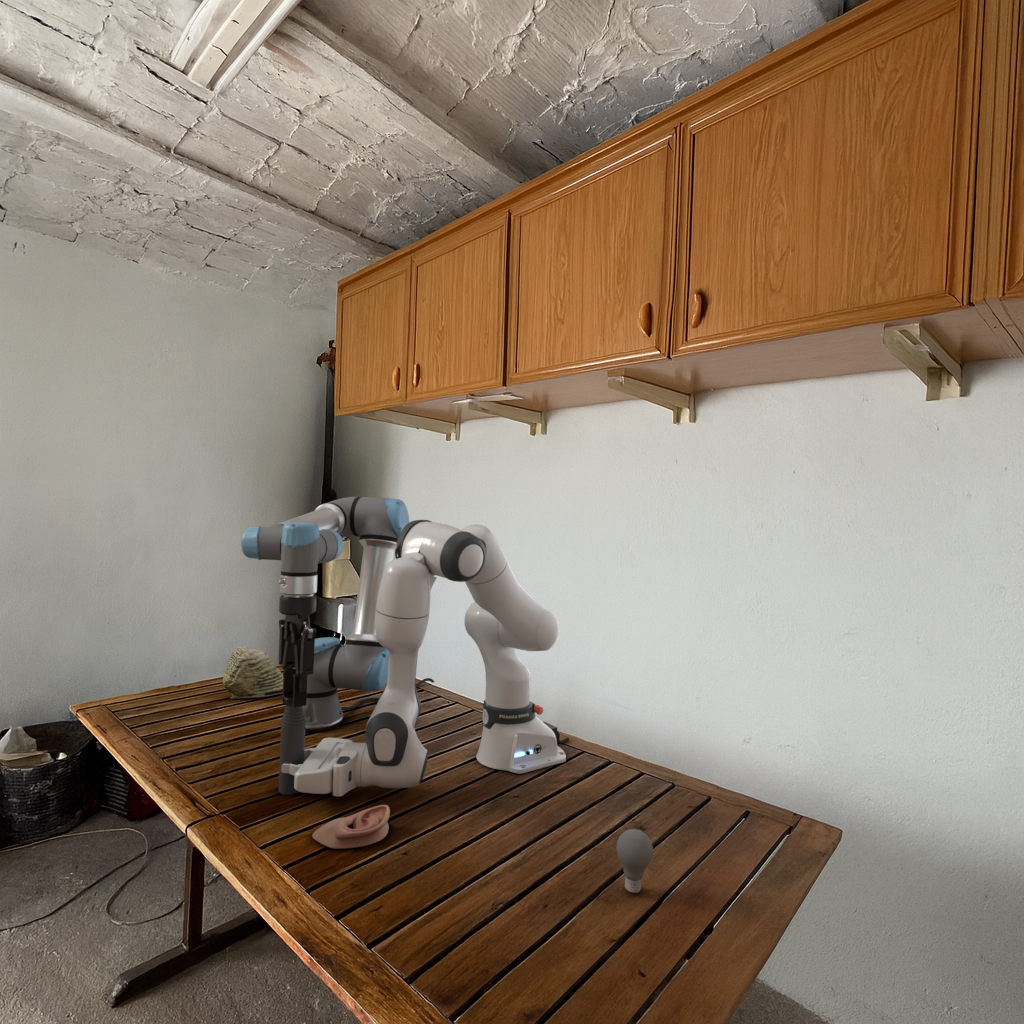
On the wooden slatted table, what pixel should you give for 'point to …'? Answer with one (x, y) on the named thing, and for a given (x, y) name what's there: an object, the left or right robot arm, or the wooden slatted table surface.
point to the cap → (288, 699)
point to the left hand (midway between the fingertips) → (294, 702)
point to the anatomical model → (355, 829)
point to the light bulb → (634, 857)
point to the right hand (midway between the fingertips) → (287, 761)
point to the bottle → (291, 745)
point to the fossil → (252, 674)
